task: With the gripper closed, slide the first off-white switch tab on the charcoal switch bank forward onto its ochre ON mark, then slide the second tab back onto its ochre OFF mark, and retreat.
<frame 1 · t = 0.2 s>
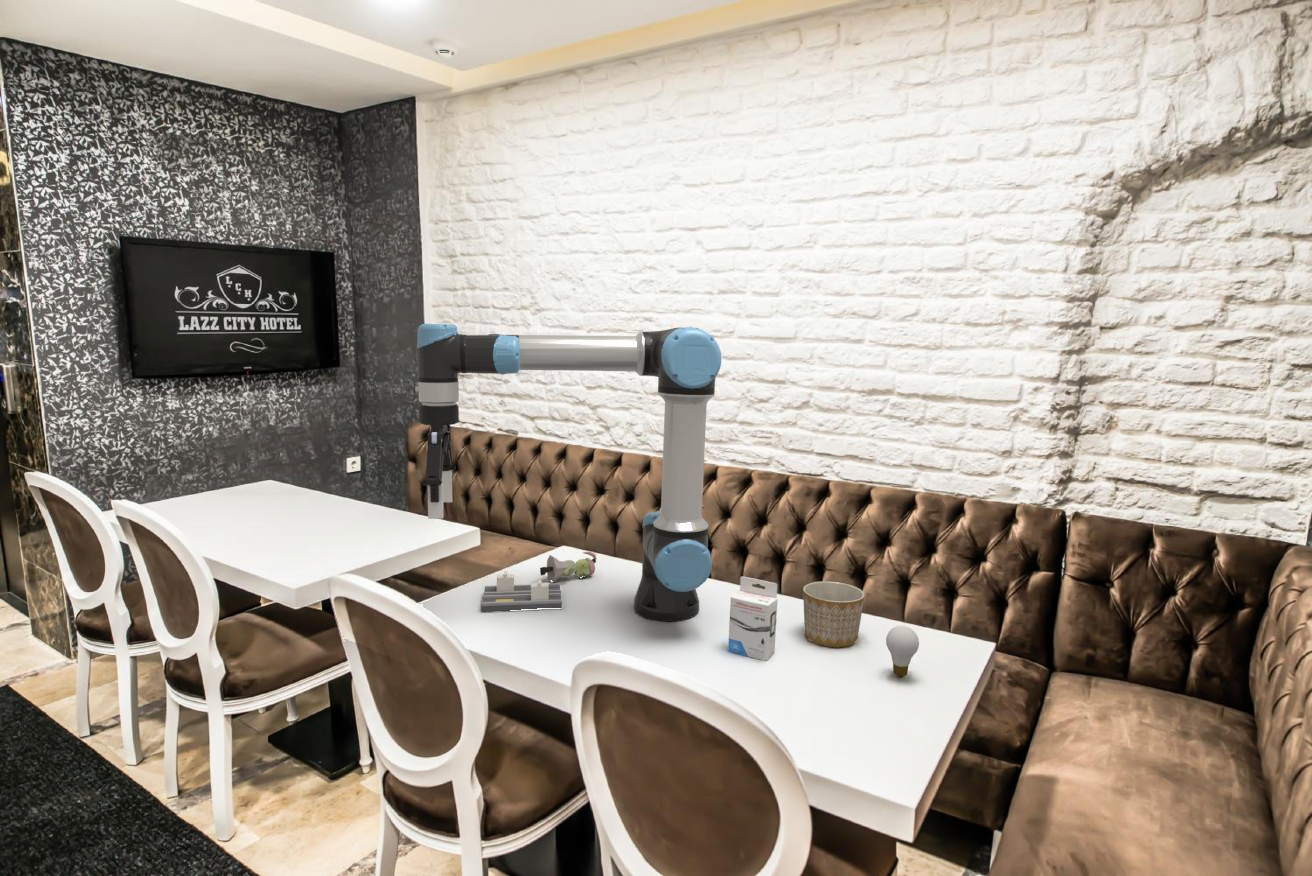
hand: (440, 509, 150), 28 cm above the table, fingers open, 13 cm apart
figurine: (570, 581, 193), on the table
light bulb: (899, 678, 143), on the table
tab two: (505, 581, 179), point 4 cm above the table, slide at 8.0 cm
ink box: (751, 653, 152), on the table
planter: (830, 639, 160), on the table
tab one: (539, 590, 174), point 4 cm above the table, slide at 0.0 cm
switch bank: (522, 601, 177), on the table
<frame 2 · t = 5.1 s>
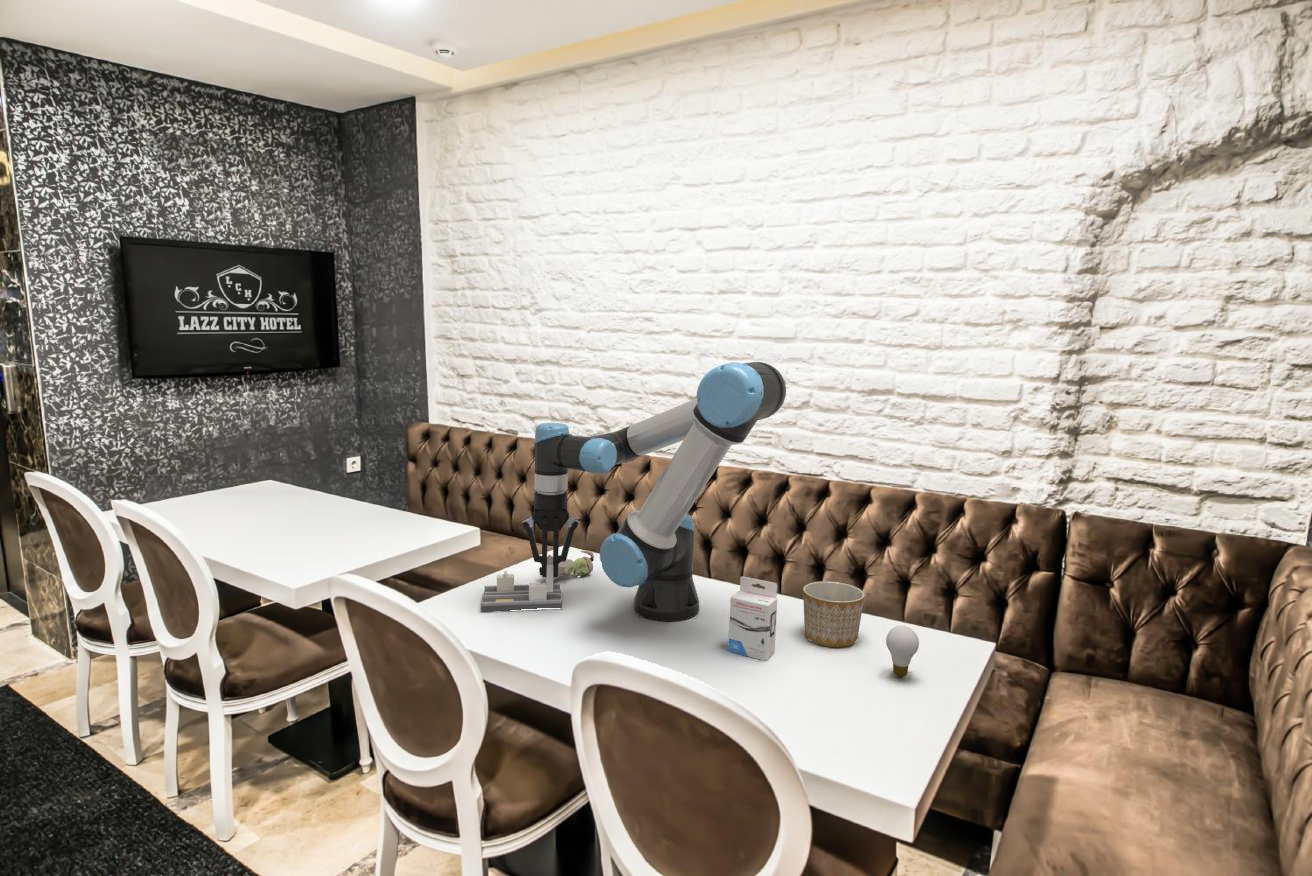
hand: (549, 590, 175), 4 cm above the table, fingers closed
tab one: (537, 590, 174), point 4 cm above the table, slide at 0.5 cm, touching gripper
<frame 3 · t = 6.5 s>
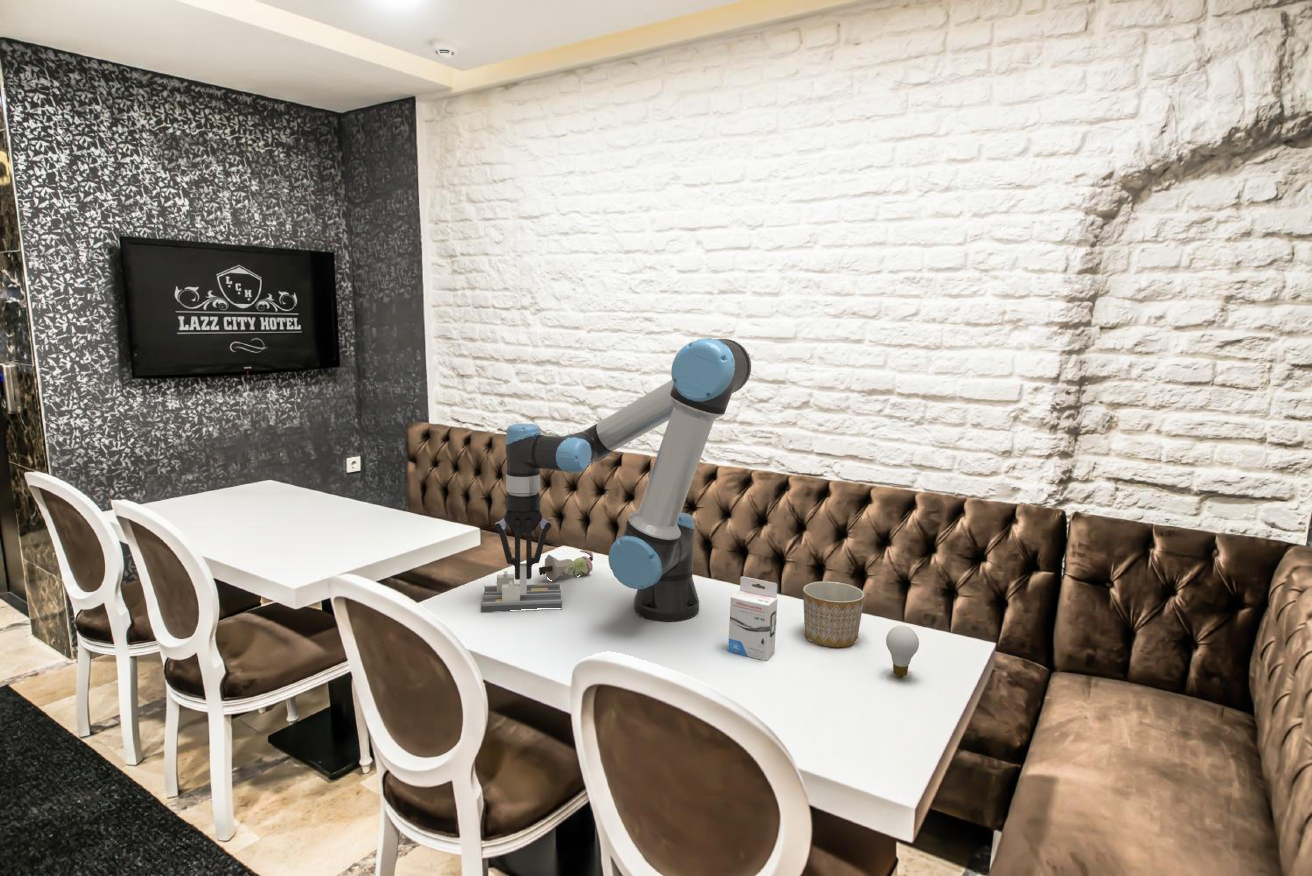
hand: (523, 592, 173), 3 cm above the table, fingers closed
tab one: (511, 591, 173), point 4 cm above the table, slide at 6.5 cm, touching gripper
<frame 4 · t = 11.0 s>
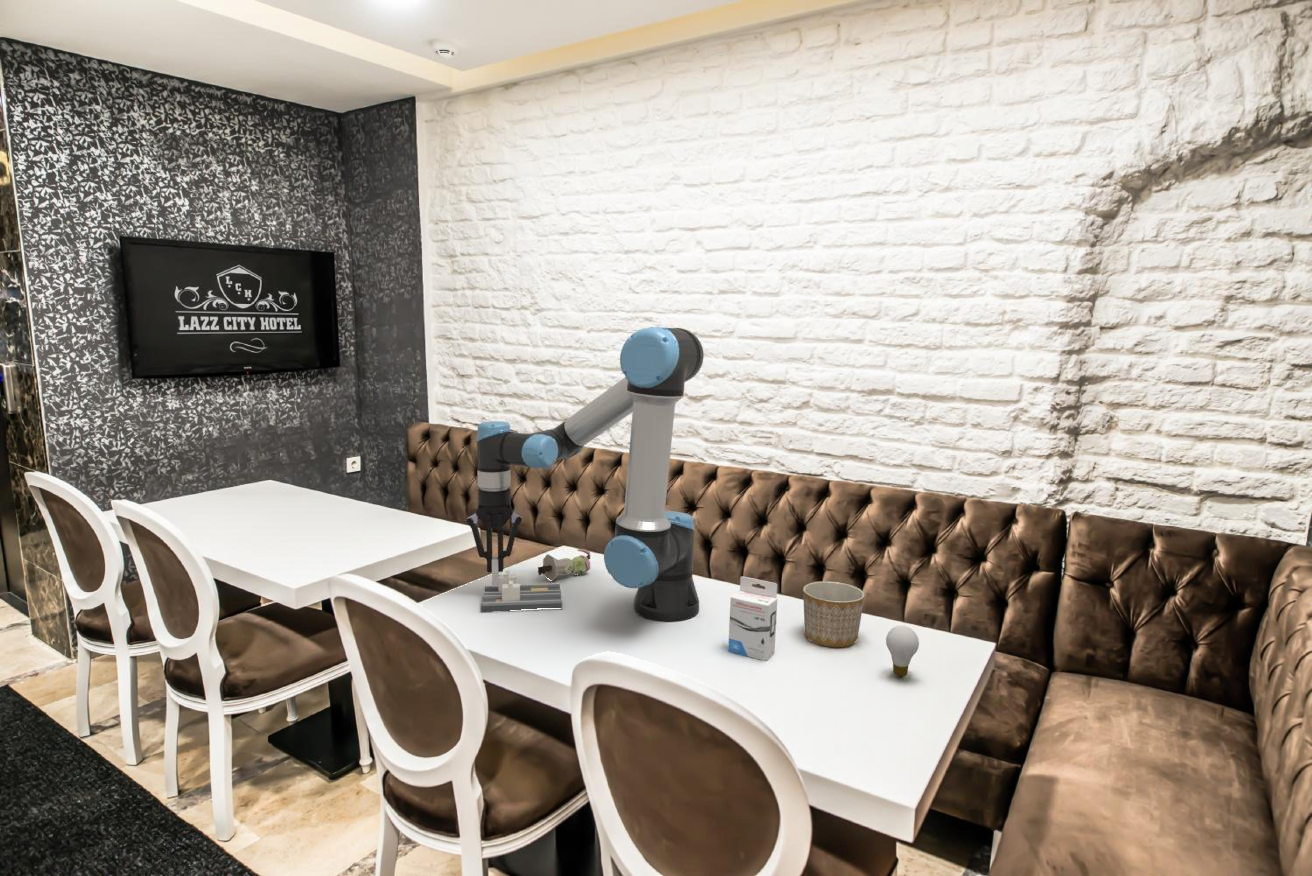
hand: (495, 584, 179), 3 cm above the table, fingers closed
tab two: (507, 581, 179), point 4 cm above the table, slide at 7.6 cm, touching gripper
tab one: (511, 591, 173), point 4 cm above the table, slide at 6.5 cm
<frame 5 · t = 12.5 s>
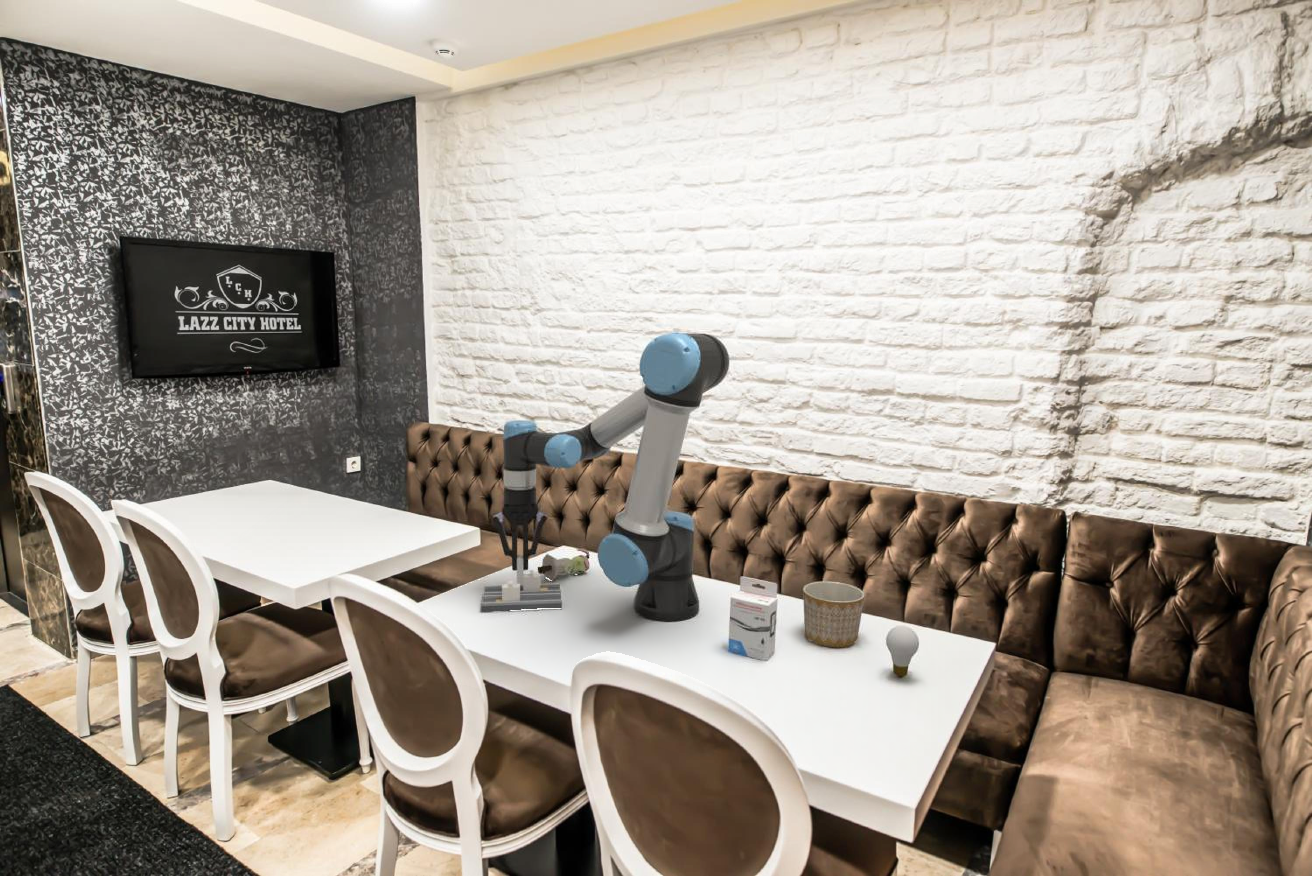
hand: (520, 583, 180), 3 cm above the table, fingers closed
tab two: (531, 580, 180), point 4 cm above the table, slide at 1.8 cm, touching gripper
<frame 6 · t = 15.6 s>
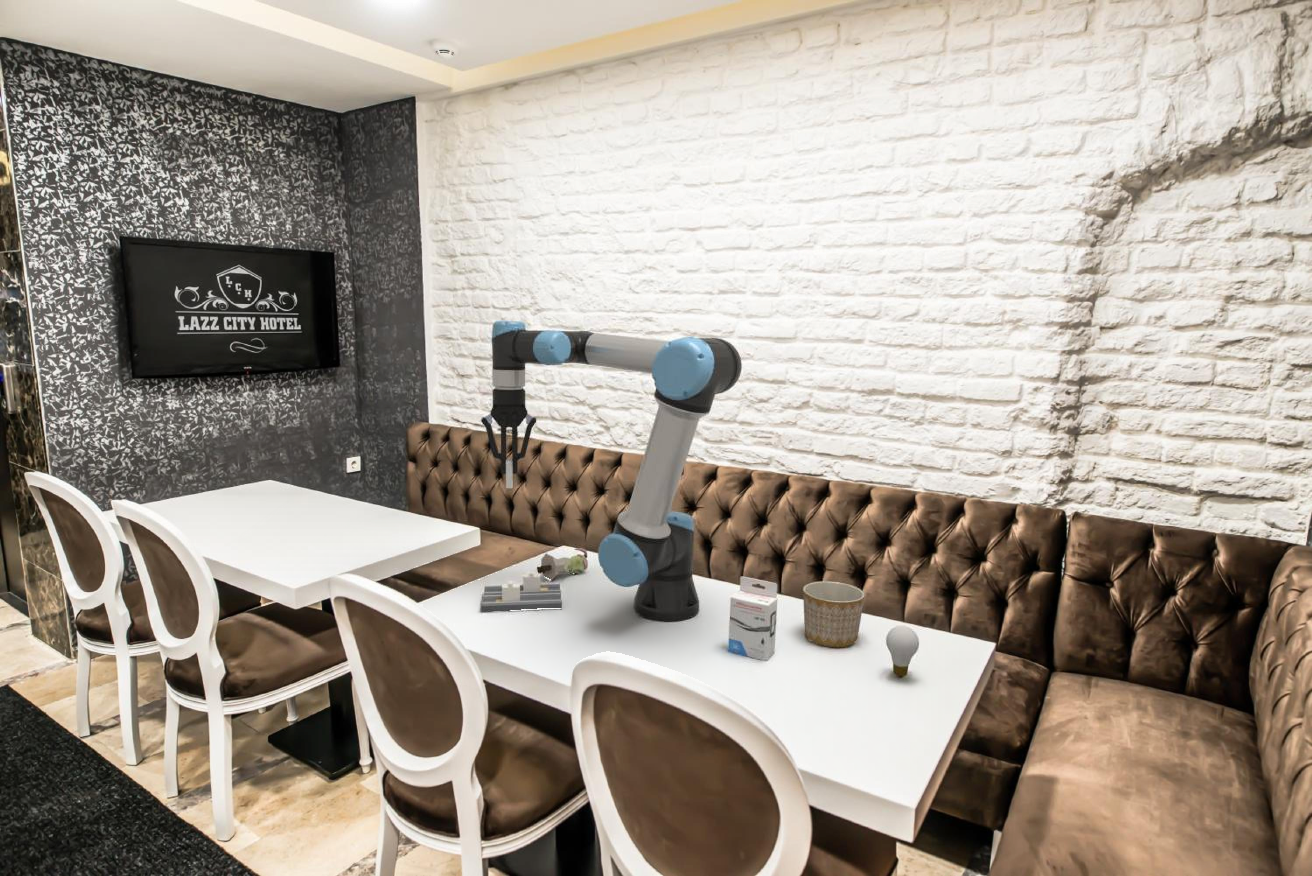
hand: (509, 487, 178), 26 cm above the table, fingers closed
tab two: (531, 580, 180), point 4 cm above the table, slide at 1.8 cm
at the end: tab one slide at 6.5 cm; tab two slide at 1.8 cm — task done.
